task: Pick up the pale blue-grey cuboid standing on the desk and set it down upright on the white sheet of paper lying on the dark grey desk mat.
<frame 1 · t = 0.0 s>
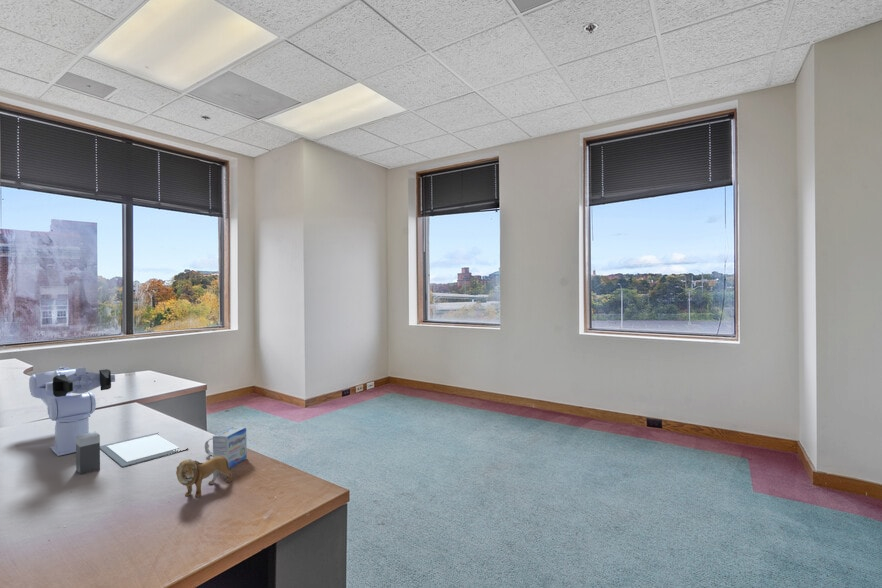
hand: (90, 384, 113), 22 cm above the table, tool horizontal, fingers open, 7 cm apart
medicine box: (230, 464, 116), on the table
wristwatch: (215, 455, 122), on the table
desk mat: (143, 448, 126), on the table
lion figurine: (205, 491, 101), on the table
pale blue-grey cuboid: (88, 470, 112), on the table
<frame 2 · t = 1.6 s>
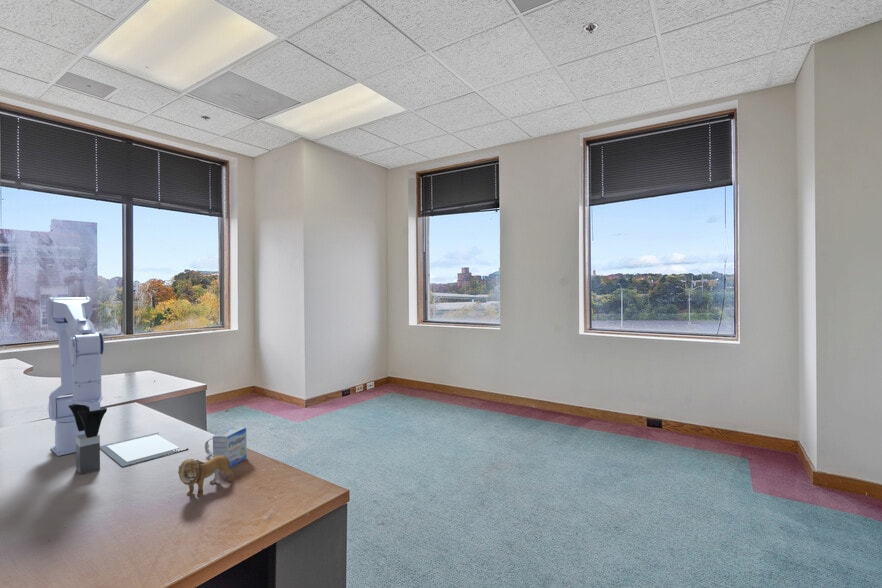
hand: (87, 433, 111), 9 cm above the table, tool pointing down, fingers open, 7 cm apart
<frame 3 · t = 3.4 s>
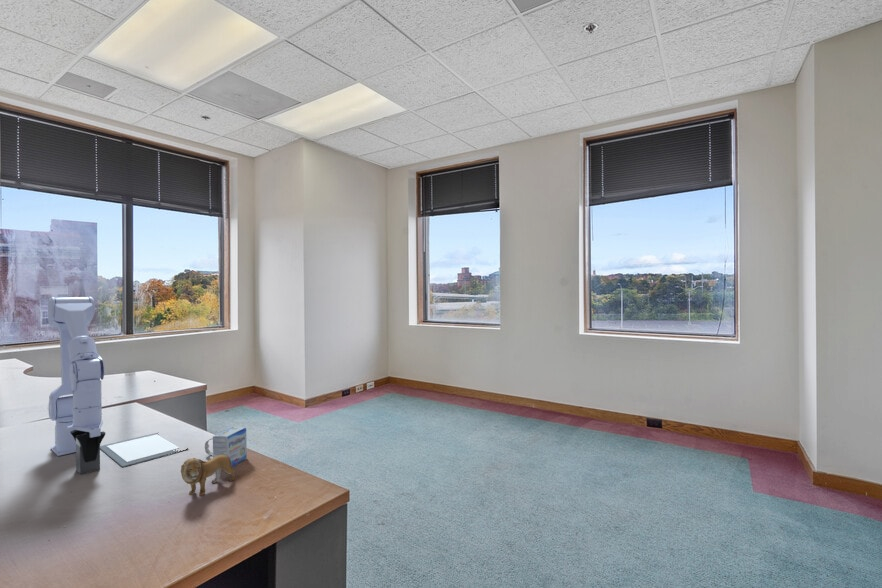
hand: (88, 458, 112), 3 cm above the table, tool pointing down, fingers closed on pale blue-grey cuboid, 4 cm apart
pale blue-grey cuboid: (88, 470, 112), on the table, touching gripper
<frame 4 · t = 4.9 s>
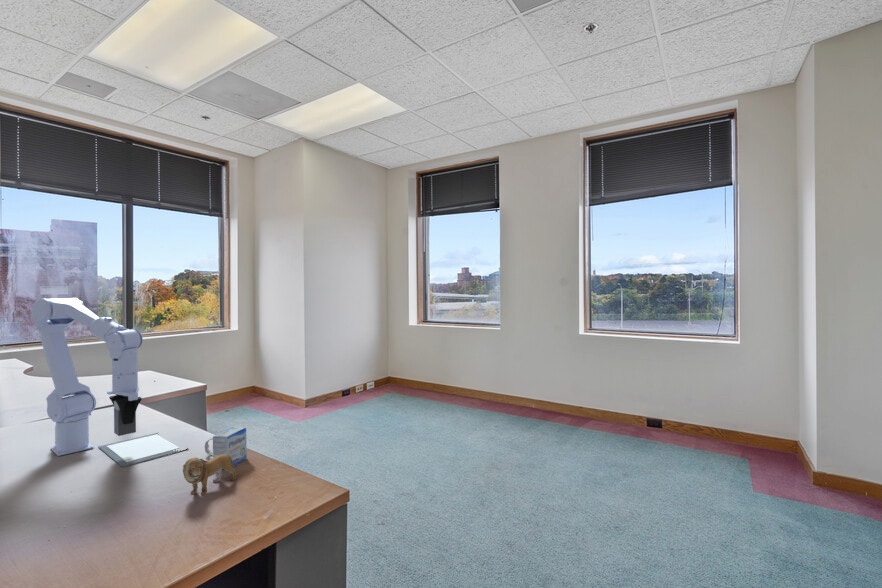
hand: (125, 421, 121), 9 cm above the table, tool pointing down, fingers closed on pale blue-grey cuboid, 4 cm apart
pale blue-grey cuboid: (125, 432, 121), point 6 cm above the table, touching gripper
when the fingers open (4 cm above the table, at t = 6.7 s): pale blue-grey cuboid stays where it is, resting on desk mat.
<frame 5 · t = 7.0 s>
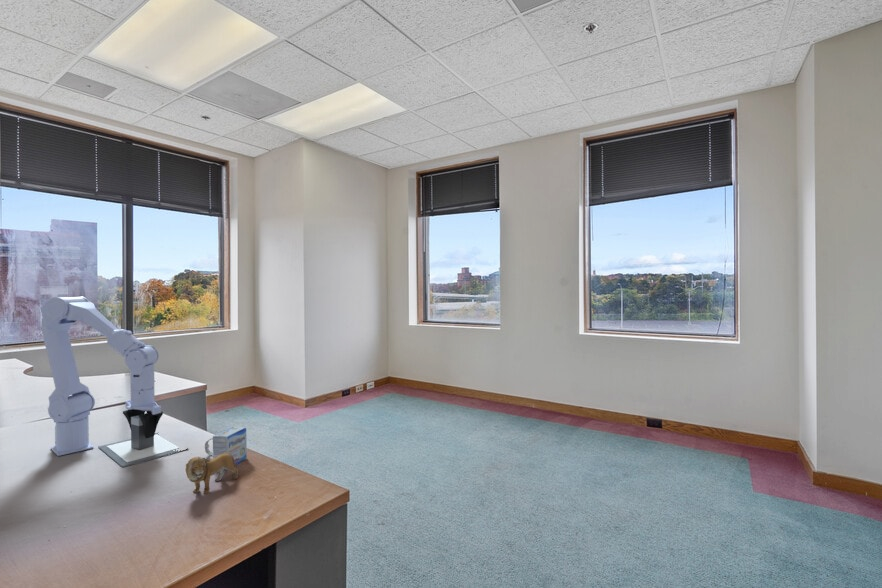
hand: (143, 435, 126), 4 cm above the table, tool pointing down, fingers open, 6 cm apart
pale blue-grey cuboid: (142, 446, 126), resting on desk mat
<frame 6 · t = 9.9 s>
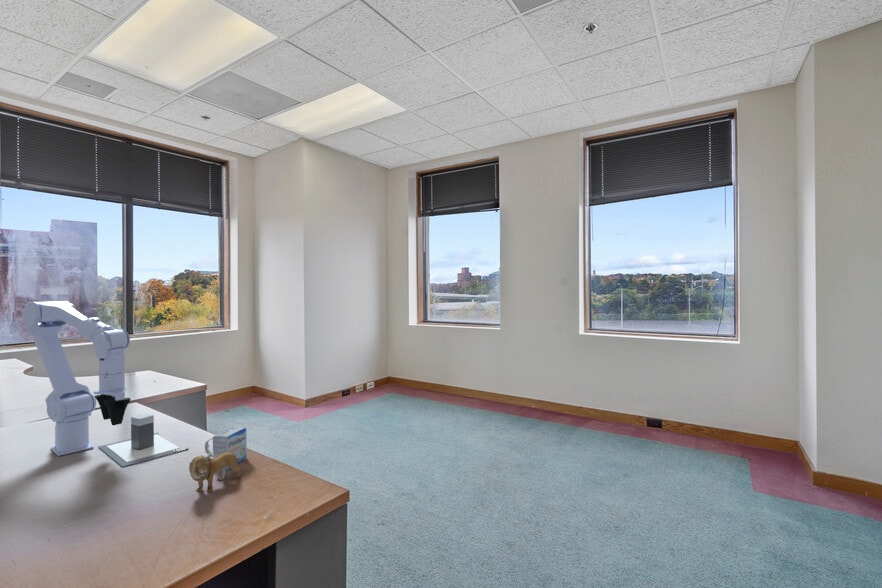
hand: (112, 421, 121), 9 cm above the table, tool pointing down, fingers open, 7 cm apart
at the end: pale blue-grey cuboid inside the target area on the desk mat (0.1 cm from its centre), point 0.5 cm above the desk mat's base; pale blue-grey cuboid tilted 0°; the gripper is holding nothing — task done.
